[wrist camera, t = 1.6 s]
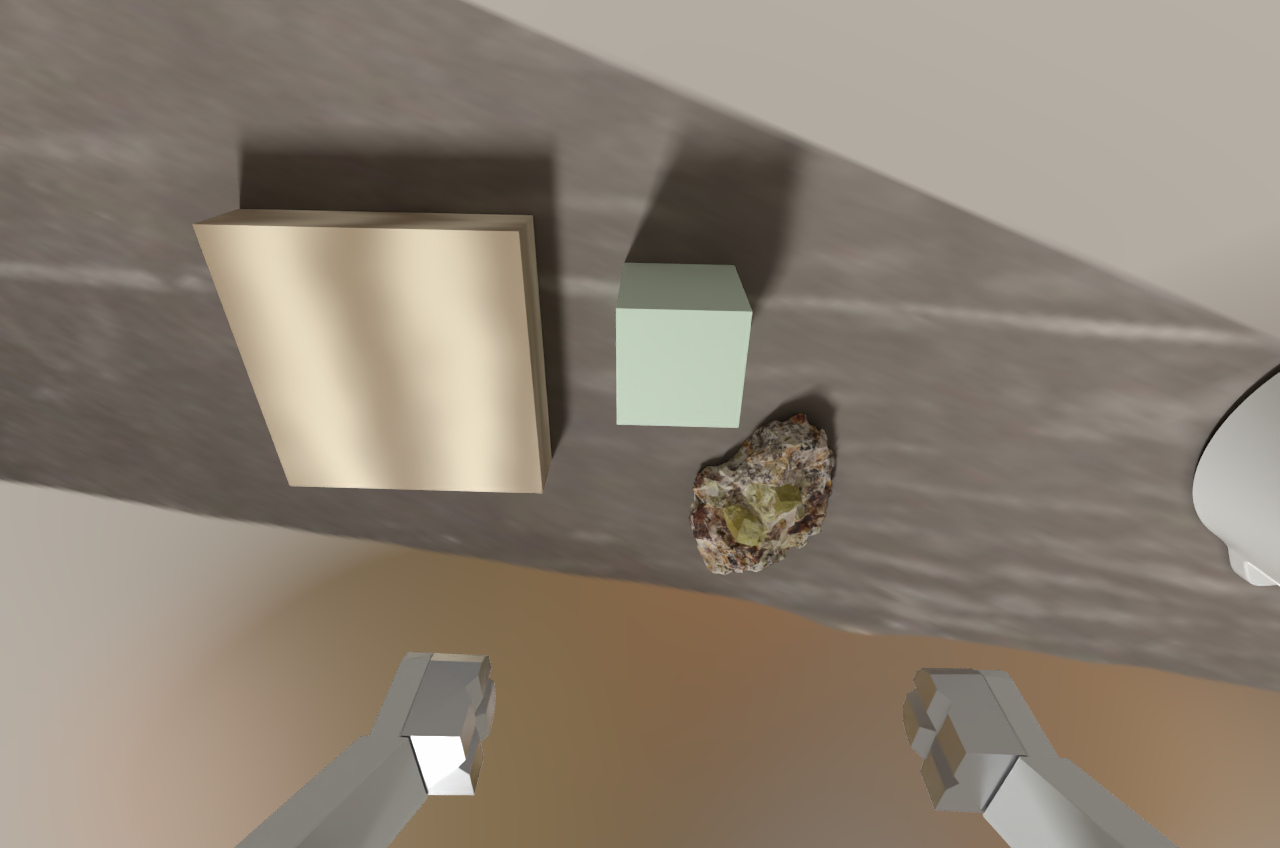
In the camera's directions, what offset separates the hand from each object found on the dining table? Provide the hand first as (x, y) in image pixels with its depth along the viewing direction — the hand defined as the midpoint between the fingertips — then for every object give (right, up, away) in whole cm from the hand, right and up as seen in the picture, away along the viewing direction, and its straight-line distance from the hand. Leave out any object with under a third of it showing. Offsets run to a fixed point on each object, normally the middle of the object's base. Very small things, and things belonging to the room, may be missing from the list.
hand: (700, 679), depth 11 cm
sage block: (+1, +10, +17) cm, 19 cm away
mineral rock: (+6, +1, +22) cm, 23 cm away
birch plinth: (-12, +9, +18) cm, 23 cm away
